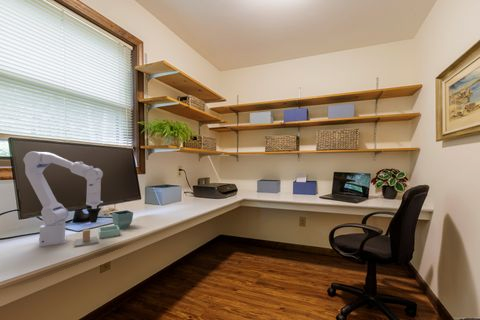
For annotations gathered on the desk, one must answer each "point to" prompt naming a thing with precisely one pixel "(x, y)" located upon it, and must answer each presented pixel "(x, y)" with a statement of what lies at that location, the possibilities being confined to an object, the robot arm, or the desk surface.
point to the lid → (86, 239)
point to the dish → (108, 231)
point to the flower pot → (122, 218)
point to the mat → (81, 246)
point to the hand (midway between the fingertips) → (92, 220)
